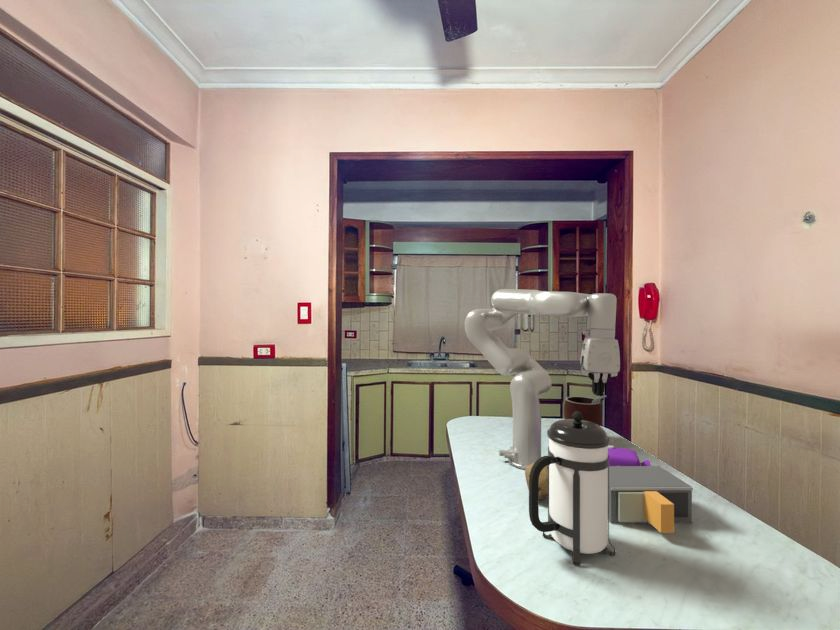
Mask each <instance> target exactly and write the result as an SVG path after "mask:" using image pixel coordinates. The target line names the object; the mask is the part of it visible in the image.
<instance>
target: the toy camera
mask: <svg viewBox="0 0 840 630" xmlns="http://www.w3.org/2000/svg"><path fill="white" fill-rule="evenodd" d="M608 455H609V466H652V465H651V462H650V460H649V459H645V460H643V461H640V458H639V456H638V454H637V453H636V451H635V450H633V449H630V448H622V447H615V446H614V445H611V444H609V446H608Z"/></svg>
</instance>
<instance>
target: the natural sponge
mask: <svg viewBox="0 0 840 630" xmlns="http://www.w3.org/2000/svg"><path fill="white" fill-rule="evenodd" d="M534 463H535V462H534ZM534 463H532V464H530V465H529V466H528V467H527V468H526V469H525V471H524V475H525V482H526V486H527V489H528V490H529V477H530V472H531V469H532V466H533V465H534ZM545 498H548V465H547V466H545V467H544V468H543V469H542V471H541V472H540V475H539V500H542V499H545Z"/></svg>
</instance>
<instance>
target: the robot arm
mask: <svg viewBox="0 0 840 630" xmlns="http://www.w3.org/2000/svg"><path fill="white" fill-rule="evenodd" d="M490 298H491V299H490V301H491V303H490V304H491V305H492V308H475V309H473V310H471V311H469V312H468V313H467V314H466V317H465V319H464V331H465V334H466V337H467V339H468V340H469V341H470V343H471V344H472V345H473V346H474V347H475V348H476V349H477V350H478V351H479V352H480V353H481V354H482V356H483V357H484V358H485V359H486V360H487V361H488V363H489V364H490V365H491V366H492V367H493V368H494V369H495V371H496V372H498V373H499V374H500V375H501V376H505V377H507V376H508V377H509V376H513V375H514V376H513V377H512V379H511V381H510V383H509V391H510V397H511V404H512V407H511V408H512V446H510V448H509V449H507V450H505V449H504V450H503V449H499V450H498V455H499V457H504V459H507V461H508V463H509V464H510V465H511V466H513V467H515V468H517V469H521V470H526V468H527V467H528V466H529V465H530V464H532V463H534V462H536V461H537V460H538V459H539V458H541V457H542V408H541V404H540V403H541V402H540V399H539V397H541V396H544V395H545V394H547V393H548V392H549V391H550V390H551V388H552V378H551V377H550V375H549V373H548V371H546V369H544V367H542V366H541V365H540V364H539V363H538V362H537V361H536V359H535V358H533V356H532V355H530V354H529V353H528V352H527V351H526V350H524V349H522V348H516V347H515V348H514V347H513V348H509V347H508V346H507V345H505V343H503V341H502V340H501V339H500V338H499V337H497V336H496V335H495V334H493V333H491V332H490V331H495V330H499V329H501V328H502V327H503V326H505V325H506V324H507V323H509V322H510V320H512V319H513V318H514V317H515V316H516V315H518V314H522V315H524V314H525V315H534V316H536V315H544V316H556V317H567V318H568V317H572V318H573V317H577V318H578V317H587V327H586V329H583V330H582V335H585V336H586V337H585V338H584V339H583V343H582V346H581V347H582V348H581V353H580V372H579V373H580V375H583V376H586V377H588V378H589V379H590V381H591V392H592V394H593V395H594V396H597V397H601V396H604V393H605V384H606V383H607V381H609V379H610V378H613V377H617V376H618V373H620V371H621V356H620V355H621V353H620V346H619V340H618V339H616V338H615V337H616V323H617V322H616V319H617V317H616V316H617V297H616V295H615V294H613V293H603V292H602V293H600V292H599V293H597V292H596V293H592V294H589V293H582V292H581V293H580V292H577V291H576V292H573V291H554V290H553V291H552V290H550V291H548V290H539V289H518V288H517V289H516V288H502V289H501V288H500V289H498V290H496V291H494V292H493V294H492V295H491V297H490Z"/></svg>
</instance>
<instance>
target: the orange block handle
mask: <svg viewBox="0 0 840 630" xmlns="http://www.w3.org/2000/svg"><path fill="white" fill-rule="evenodd" d="M618 521H619V522H649V523H648V524H651V526H653V527H654V528H655V529H656V530H657V531H658V532H659V533H660V534H675V523H674V504H673V503H672V502H670V501H669V500H668V499H666V498H665V497H664V496H662V495H661V494H660V493H658V492H657V491H644V492H618Z"/></svg>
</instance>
